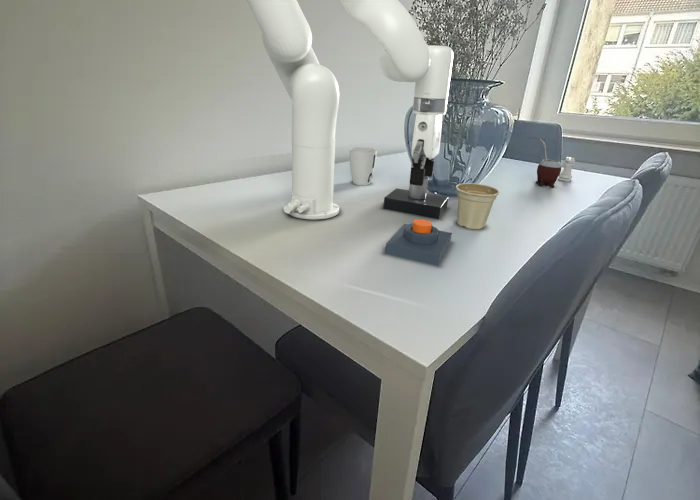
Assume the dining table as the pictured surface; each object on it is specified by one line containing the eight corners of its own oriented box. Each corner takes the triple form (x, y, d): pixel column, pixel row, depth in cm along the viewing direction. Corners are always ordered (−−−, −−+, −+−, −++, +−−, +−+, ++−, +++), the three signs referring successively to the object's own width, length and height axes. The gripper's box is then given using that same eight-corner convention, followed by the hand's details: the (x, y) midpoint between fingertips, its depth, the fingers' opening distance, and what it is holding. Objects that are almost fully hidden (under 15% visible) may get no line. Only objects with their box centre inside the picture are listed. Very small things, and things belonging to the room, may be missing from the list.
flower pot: (467, 234, 84) (474, 196, 81) (441, 219, 92) (447, 184, 89) (500, 230, 88) (509, 193, 84) (473, 216, 96) (479, 182, 92)
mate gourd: (560, 186, 129) (573, 140, 123) (547, 189, 125) (560, 141, 119) (539, 181, 135) (551, 136, 128) (526, 183, 130) (538, 137, 124)
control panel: (446, 208, 101) (448, 196, 100) (438, 219, 92) (440, 207, 91) (395, 198, 106) (396, 188, 104) (383, 209, 97) (384, 197, 96)
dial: (427, 196, 99) (430, 175, 97) (423, 200, 95) (426, 179, 93) (410, 193, 100) (413, 173, 98) (406, 197, 97) (408, 176, 94)
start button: (428, 236, 73) (429, 227, 72) (409, 232, 74) (411, 223, 73) (432, 229, 76) (434, 221, 75) (414, 226, 77) (415, 218, 76)
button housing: (438, 266, 70) (441, 245, 68) (385, 253, 73) (387, 234, 71) (450, 242, 80) (453, 224, 78) (403, 233, 83) (405, 215, 81)
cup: (374, 187, 115) (377, 153, 111) (347, 185, 115) (349, 151, 111) (373, 180, 122) (376, 148, 118) (348, 178, 122) (349, 146, 118)
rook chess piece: (558, 178, 140) (564, 155, 137) (572, 180, 138) (578, 157, 135) (556, 180, 137) (562, 157, 134) (570, 182, 135) (577, 159, 131)
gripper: (438, 110, 80) (428, 191, 87) (452, 105, 95) (443, 174, 102) (403, 108, 83) (396, 186, 90) (422, 103, 97) (415, 171, 105)
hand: (421, 180), depth 96 cm, fingers open, 9 cm apart
